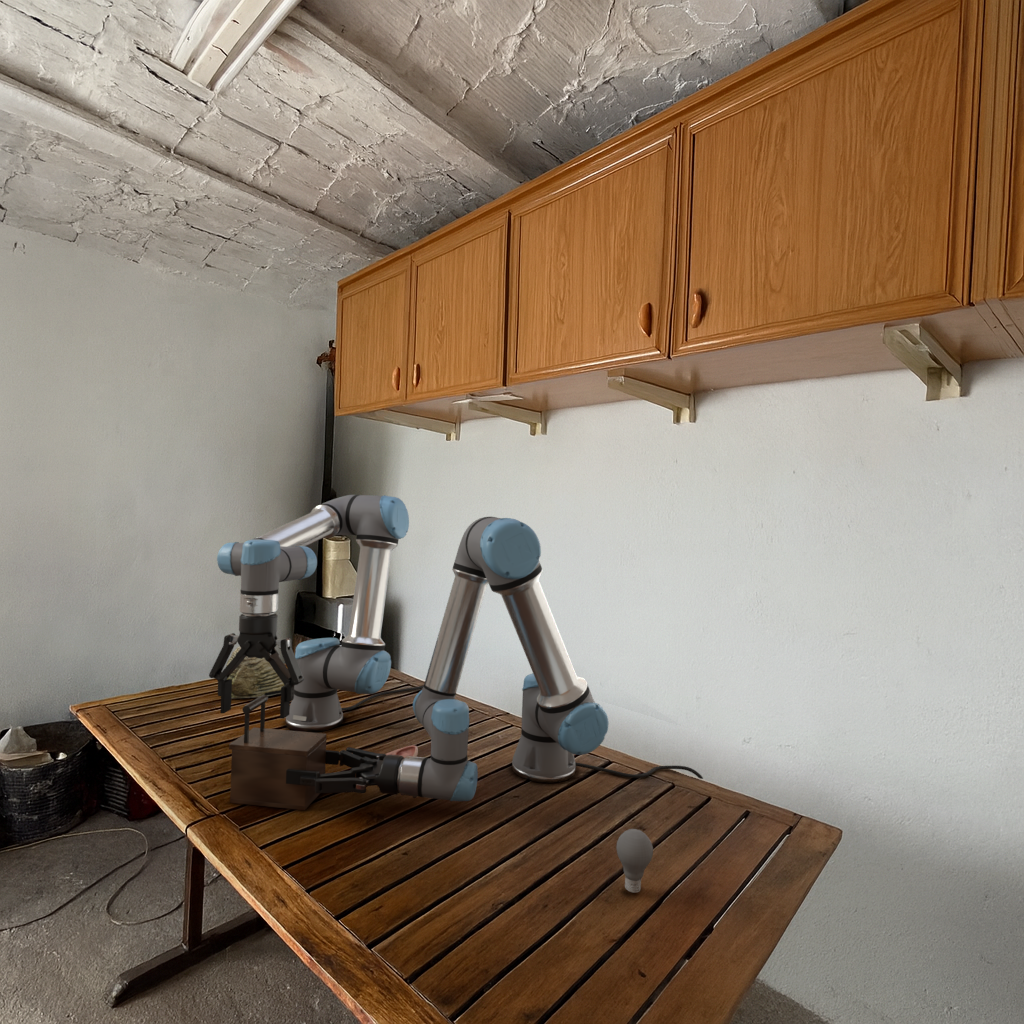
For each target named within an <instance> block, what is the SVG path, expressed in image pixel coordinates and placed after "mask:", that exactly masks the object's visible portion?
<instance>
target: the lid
mask: <svg viewBox="0 0 1024 1024" xmlns="http://www.w3.org/2000/svg"><path fill="white" fill-rule="evenodd" d="M268 700H269V696H266V695H262V696H260V697H256V698H255V699H254V700H251V701H250V702H249V703H247V704H245V705H243V707H242V712H243V714H244V726H243V728H244V729H243V734H242V735H241V736H239V737H238V738H236V739H235V740H233V741H232V742H230V743H229V744H228V750H231V751H232V750H242V751H253V752H264V753H275V754H286V755H297V756H308V755H309V754H310V753H311V752H312V751H313V750H314V749H315V748H316V747H318V746H319V745H320V744H321V743H322V742H323V741H324V740H325V739H326V740H327V736H328V735H327V733H324V732H323V733H322V732H301V731H295V730H290V729H289V730H288V729H277V728H265V723H266V703H267V702H268ZM259 707H260V719H259V720H260V721H259V724H260V725H259V726H260V727H252V728H251V729H250V715H251V714H250V713H251V712H253V711H254V710H256V709H257V708H259Z"/></svg>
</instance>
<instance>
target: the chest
mask: <svg viewBox="0 0 1024 1024" xmlns="http://www.w3.org/2000/svg"><path fill="white" fill-rule="evenodd" d="M326 750H327V738H326V739H325V740H324V741H323V742H322V743H321V744H320V745H319V746H318V747H316V748H315V749H314V750H313V751H312V752H311V753H310V754H309V755H308V756H297V755H286V754H275V753H264V752H253V751H242V750H231V762H230V763H231V764H230V765H231V766H230V792H229V793H230V796H229V803H230V804H240V805H249V806H257V807H258V806H259V807H269V808H278V809H288V810H298V811H306V810H307V809H308V808H309V806H310V805H311V804H312V803H314V801H315V800H316V799H317V798H318V796H319V795H320V794H321V793H315V786H305V785H295V784H286V770H287V769H295V770H306V771H319V772H320V774H326V765H327V764H326Z"/></svg>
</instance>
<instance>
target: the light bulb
mask: <svg viewBox="0 0 1024 1024" xmlns="http://www.w3.org/2000/svg"><path fill="white" fill-rule="evenodd" d="M615 849H616V854H617V857H618V859H619V861H620V863H621V865H622V867H623V873H624V874H623V875H624V876H625V878H624V888H625V890H627V891H628V892H630V893H634V894H635V893H639V892H640V891H641V889H642V887H641V886H642V879H643V877H644V875H645V871H646V868H647V867H648V866H649V864H650V863H651V861H652V859H653V855H654V847H653V843H652V841H651V838H649V836H648V835H647V834H646V833H645V832H643V831H642V830H641V829H636V828H629V829H627V830H625V831H623V832H622V833H621V834H620V835H619V837H618V839H617V841H616V847H615Z"/></svg>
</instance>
